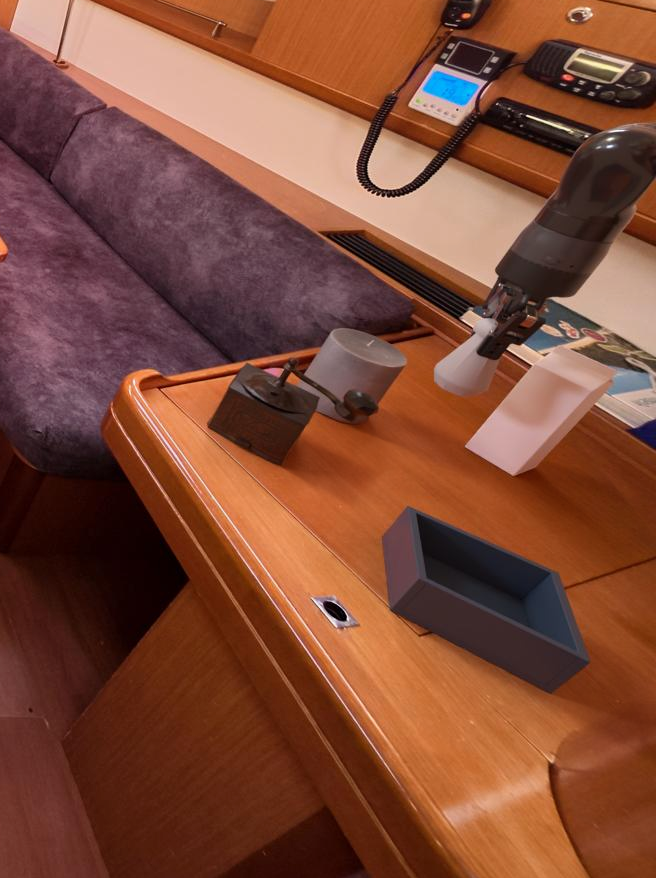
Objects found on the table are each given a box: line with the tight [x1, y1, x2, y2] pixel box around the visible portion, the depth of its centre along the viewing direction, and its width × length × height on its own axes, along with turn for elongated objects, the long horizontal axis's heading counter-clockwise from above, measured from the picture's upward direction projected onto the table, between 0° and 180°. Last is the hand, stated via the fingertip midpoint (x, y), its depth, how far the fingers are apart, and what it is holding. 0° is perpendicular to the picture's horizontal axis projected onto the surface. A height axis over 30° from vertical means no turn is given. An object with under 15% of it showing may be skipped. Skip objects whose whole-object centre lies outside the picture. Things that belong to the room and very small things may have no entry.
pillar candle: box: [296, 327, 408, 425], centre depth 109 cm, size 10×10×15 cm
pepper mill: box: [206, 356, 380, 466], centre depth 100 cm, size 16×11×18 cm
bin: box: [381, 505, 591, 695], centre depth 80 cm, size 14×14×7 cm
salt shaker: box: [433, 318, 512, 398], centre depth 96 cm, size 6×6×13 cm
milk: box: [464, 345, 618, 477], centre depth 98 cm, size 6×6×22 cm
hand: (483, 348), depth 96 cm, fingers closed on salt shaker, 4 cm apart
